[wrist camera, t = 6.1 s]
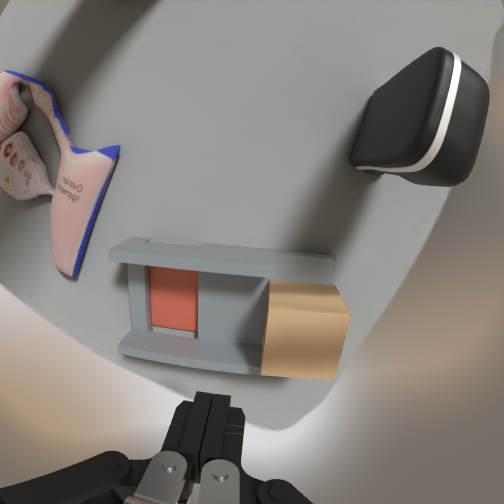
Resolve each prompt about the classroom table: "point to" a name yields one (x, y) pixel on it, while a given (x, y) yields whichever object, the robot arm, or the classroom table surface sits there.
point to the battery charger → (425, 122)
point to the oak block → (303, 330)
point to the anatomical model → (36, 177)
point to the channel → (207, 300)
